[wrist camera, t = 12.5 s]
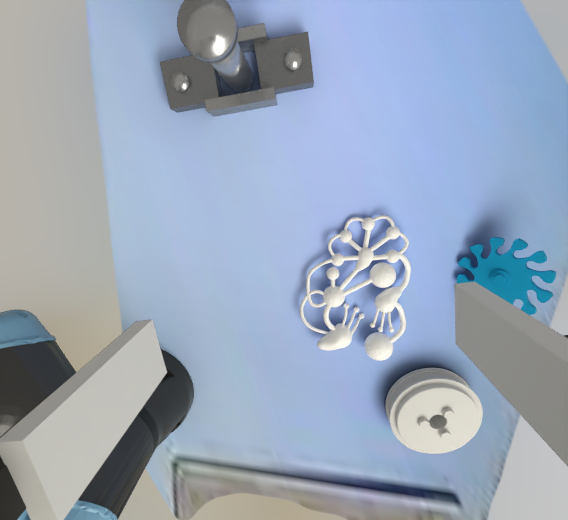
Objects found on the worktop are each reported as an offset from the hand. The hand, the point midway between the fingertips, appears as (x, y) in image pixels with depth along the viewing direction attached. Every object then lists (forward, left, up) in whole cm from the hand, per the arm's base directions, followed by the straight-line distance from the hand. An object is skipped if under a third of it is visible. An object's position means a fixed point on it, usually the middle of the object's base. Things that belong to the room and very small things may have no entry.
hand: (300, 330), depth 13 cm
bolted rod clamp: (-5, +19, -29) cm, 35 cm away
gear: (+23, -9, -29) cm, 38 cm away
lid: (+15, -29, -29) cm, 44 cm away
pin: (-5, +19, -29) cm, 35 cm away
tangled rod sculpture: (+6, -10, -29) cm, 31 cm away
